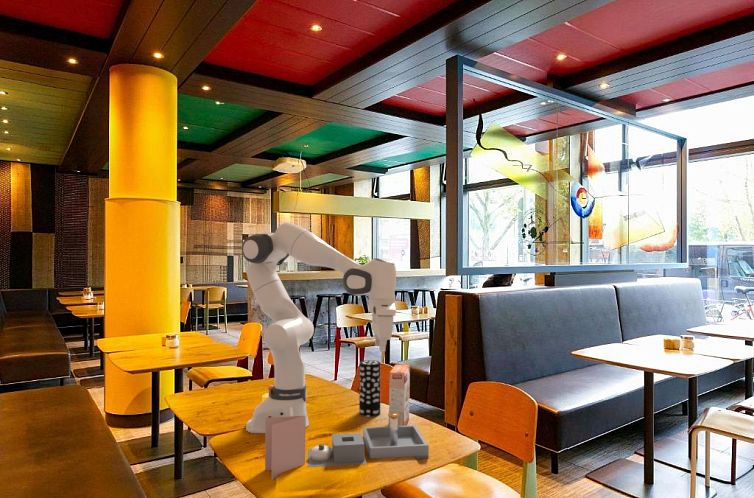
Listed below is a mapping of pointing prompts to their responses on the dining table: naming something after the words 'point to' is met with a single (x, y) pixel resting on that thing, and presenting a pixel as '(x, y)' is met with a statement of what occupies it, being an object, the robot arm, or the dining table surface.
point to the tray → (407, 442)
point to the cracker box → (399, 393)
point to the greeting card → (284, 443)
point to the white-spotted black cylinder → (369, 388)
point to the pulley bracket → (338, 451)
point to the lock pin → (393, 428)
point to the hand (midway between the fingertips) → (380, 348)
